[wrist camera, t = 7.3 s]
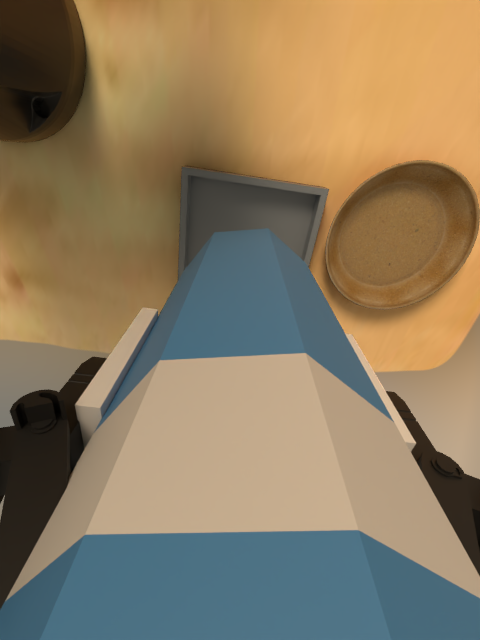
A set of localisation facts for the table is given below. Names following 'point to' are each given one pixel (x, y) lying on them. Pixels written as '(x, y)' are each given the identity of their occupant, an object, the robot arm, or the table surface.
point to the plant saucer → (402, 234)
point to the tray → (246, 210)
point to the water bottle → (246, 484)
